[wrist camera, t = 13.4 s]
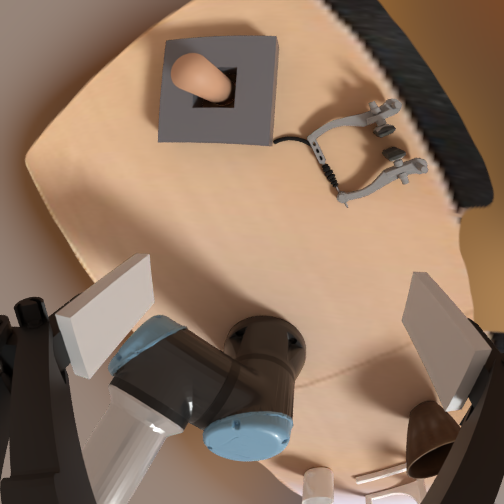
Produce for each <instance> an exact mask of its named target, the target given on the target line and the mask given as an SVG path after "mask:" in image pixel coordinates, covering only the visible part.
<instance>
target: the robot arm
mask: <svg viewBox="0 0 504 504" xmlns="http://www.w3.org/2000/svg"><path fill="white" fill-rule="evenodd" d="M154 303H155V301H154V293H153V284H152V275H151V265H150V254H143V253H136V254H134V255H133V256H132V257H130V258H129V259H127V260H126V261H125V262H123V263H122V264H121V265H119V266H118V267H116V268H115V269H114V270H112V271H111V272H110V273H108V274H107V275H105V276H104V277H103V278H101V279H100V280H99V281H97V282H96V283H95V284H93V285H92V286H91V287H89V288H88V289H87V290H85V291H84V292H83V293H80V294H78V295H76V296H75V297H73V298H72V299H71V300H70V302H67V303H66V304H64V306H62V307H61V308H59V309H58V310H57V311H56V312H54V313H53V314H52V315H50V316H49V317H48V315H47V311H46V308H45V304H44V301H43V299H42V298H40V297H29V298H26V299H23V300H21V301H19V302H18V303H17V304H16V305H15V306H14V310H15V313H16V317H17V319H18V323H19V326H20V327H11V324H10V321H9V318H8V317H7V316H5V315H0V480H1V474H2V468H3V463H4V458H5V454H6V449H7V445H8V441H9V437H10V466H11V476H10V478H3V479H2V480H1V484H0V491H1V501H2V504H128V502H129V500H130V499H131V497H132V495H133V494H134V492H135V490H136V488H137V486H138V485H139V484H140V482H141V480H142V478H143V477H144V475H145V473H146V472H147V470H148V468H149V466H150V465H151V463H152V461H153V460H154V458H155V456H156V455H157V453H158V451H159V449H160V448H161V446H162V444H163V442H164V440H165V439H166V437H168V436H171V435H175V434H179V433H182V432H183V431H184V429H185V427H186V425H187V424H188V422H189V423H190V424H192V425H194V426H196V427H198V428H200V429H202V430H203V431H204V432H203V441H204V444H205V445H206V446H207V447H208V449H209V450H210V451H212V452H213V453H215V454H217V455H219V456H221V457H224V458H227V459H231V460H238V461H259V460H264V459H268V458H271V457H273V456H275V455H277V454H279V453H280V452H282V451H283V450H284V449H285V448H286V446H287V445H288V443H289V439H290V434H291V429H292V427H293V420H292V419H293V402H294V384H295V380H296V379H297V377H298V375H299V373H300V372H301V370H302V368H303V366H304V363H305V359H306V345H305V341H304V339H303V337H302V335H301V334H300V332H299V331H298V330H297V329H296V328H295V327H294V326H293V325H291V324H290V323H288V322H286V321H284V320H282V319H279V318H275V317H270V316H256V317H251V318H247V319H245V320H243V321H241V322H239V323H238V324H236V325H235V326H234V327H233V328H232V329H231V331H230V332H229V334H228V336H227V339H226V342H225V345H224V352H222V351H220V350H219V349H217V348H216V347H214V346H212V345H211V344H209V343H208V342H206V341H205V340H203V339H202V338H200V337H199V336H197V335H196V334H194V333H193V332H191V331H190V330H188V328H187V327H186V326H182V325H180V324H178V323H177V322H175V321H173V320H172V319H170V318H169V317H167V316H164V315H156V316H153V317H151V318H150V319H148V320H147V321H146V322H145V323H143V324H142V325H141V326H140V327H139V328H138V329H137V330H136V331H135V332H134V333H133V334H132V335H131V336H130V337H129V339H128V340H127V341H126V342H125V343H124V344H123V345H122V347H121V348H120V349H119V352H118V353H117V354H116V355H115V356H114V357H113V359H112V360H111V362H110V364H109V366H108V370H109V372H110V374H111V375H112V376H114V378H113V380H112V381H111V383H110V384H109V386H108V388H109V393H110V397H111V404H110V406H109V407H108V408H107V410H106V412H105V413H104V415H103V417H102V418H101V419H100V421H99V423H98V424H97V426H96V428H95V429H94V431H93V432H92V434H91V435H90V437H89V439H88V440H87V442H86V443H85V445H84V447H83V448H82V450H81V447H80V442H79V438H78V433H77V428H76V423H75V418H74V412H73V406H72V400H71V393H70V386H69V378H68V374H67V371H66V367H67V366H68V365H69V363H71V365H72V368H73V371H74V373H75V375H79V376H81V377H84V378H87V379H90V378H91V377H92V376H93V375H94V373H95V372H96V371H97V370H98V368H99V367H100V366H101V365H102V364H103V362H104V361H105V360H106V359H107V358H108V356H109V355H110V354H111V353H112V352H113V350H114V349H115V348H116V347H117V346H118V344H119V343H120V342H121V341H122V340H123V339H124V337H125V336H126V335H127V334H128V333H129V331H130V330H131V329H132V328H133V327H134V326H135V324H136V323H137V322H138V321H139V320H140V319H141V317H142V316H143V315H144V314H145V313H146V312H147V311H148V309H149V308H150V307H151V306H152V305H153V304H154ZM402 322H403V324H404V326H405V328H406V330H407V332H408V334H409V336H410V338H411V340H412V342H413V344H414V346H415V348H416V350H417V352H418V354H419V356H420V358H421V360H422V362H423V364H424V366H425V368H426V370H427V372H428V374H429V376H430V379H431V381H432V383H433V385H434V387H435V390H436V392H437V394H438V396H439V399H440V401H441V403H442V405H443V408H444V410H445V412H447V411H454V410H460V409H462V407H463V406H464V404H465V402H466V400H467V399H468V397H469V399H470V401H471V403H472V405H471V406H470V408H469V410H468V412H467V413H466V415H465V416H464V418H463V420H462V421H461V423H460V424H459V425H461V428H460V431H459V433H458V435H457V437H456V440H455V442H454V444H453V446H452V448H451V450H450V452H449V454H448V456H447V458H446V460H445V462H444V464H443V466H442V468H441V470H440V471H439V473H438V475H437V477H436V479H435V480H434V482H433V484H432V485H431V487H430V489H429V491H428V492H427V494H426V495H425V497H424V499H423V500H422V502H421V503H420V504H494V502H495V499H496V496H497V494H498V491H499V488H500V485H501V482H502V479H503V476H504V353H500V351H499V350H498V349H497V348H496V346H495V345H494V344H493V343H492V341H491V340H490V339H489V338H487V337H488V336H487V335H486V334H485V333H484V332H483V330H482V329H481V328H480V327H479V325H478V324H476V323H475V322H474V321H472V320H471V319H469V318H467V317H466V316H465V315H464V314H463V313H462V312H461V310H460V309H459V308H458V307H457V306H456V305H455V303H454V302H453V301H452V300H451V299H450V298H449V297H448V295H447V294H446V293H445V292H444V291H443V290H442V289H441V288H440V287H439V285H438V284H437V283H436V282H435V281H434V280H433V279H432V278H431V277H430V276H429V275H428V273H427V272H413V275H412V280H411V285H410V289H409V293H408V298H407V302H406V306H405V310H404V314H403V317H402Z"/></svg>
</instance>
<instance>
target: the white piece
mask: <svg viewBox="0 0 504 504" xmlns="http://www.w3.org/2000/svg"><path fill="white" fill-rule="evenodd" d="M404 471H407V470H406V463H404V464H401V465H398V466H395V467H392V468H388V469H385V470H382V471H378V472H374V473H371V474H367V475H363V476H359V477H356V483H357V484H361V483H365V482H369V481H373V480H377V479H381V478H384V477H388V476H391V475H394V474H398V473H401V472H404ZM396 494H401V495H407V496H409V497H411V498H413V499H414V500H415V501H416V502H417V503H418V504H420V503H421V502H422V500H423V499H424V497H425V495H426V494H427V492H426V487H425V482H424V478H423V479H417V481H414V482H411V483H408V484H405V485H402V486H399V487H395V488H392V489H388V490H385V491H381V492H377V493H374V494H369V495H365V498H366V504H372V500H375V499H379V498H383V497H386V496H390V495H396Z"/></svg>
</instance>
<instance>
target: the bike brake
mask: <svg viewBox="0 0 504 504" xmlns="http://www.w3.org/2000/svg"><path fill="white" fill-rule="evenodd" d="M369 106H370V109H371V110H370V111H369V112H365V113H362V114H358V115H354V116H349V117H345V118H341V119H337V120H333V121H331V122H329V123H327V124H325V125H323V126H322V127H320V128H319V129H317V130H316V131H314V132H313V133H312V134H311V135H309V136H308V137H307V140H308V141H307V140H305V139H302V138H299V137H283V138H279V139H276V140H274V141H273V142H274V144H276V143H278V142H281V141H286V140H295V141H300V142H303V143H305V144H307V145H309V146H310V147H312V149H313V151H314V153H315V155H316V157H317V159H318V161H319V163H320V164H322V165H323V166H322V168H323V171H324V172H325V175H326V176H328V177H327V179H328V180H329V179H330V180H329V181H330V182H331V184H332V185H333V187H336V189H337V191H338V194H337V200H338V201H339V202H340V203H344V204H345V205H346V207H347V208H348V205H347V203H346V202H347V201H349V200H353V199H357V198H361V197H365V196H367V195H370V194H371V193H373V192H375V191H376V190H378V189H380V188H382V187H383V186H385V185H387V184H388V183H390V182H392V181H394V180H396V179H398V178H400V179H401V181H402V184H407V183H409V181H408V177H407V176H408V175H409V174H415V173H417V174H422V173H427V172H428V168H427V162H426V161H425V160H424V159H421V158H414V159H412V160H409V161H406V162H403V161H402V159H400V158H402V157H404V156H405V155H406V152H405V151H403V150H401V149H399V148H396V147H391V148H388V149H386V150H383V152H382V154H383V155H384V156H385V157H386V158H387V159H388V160H389V161H394V162H393V163H394V166H393V167H390V168H387V169H385V170H383V171H382V173H381V174H380V175H379V176H378V177H377V178H376V179H375V180H374V181H373V182H372V183H371V184H370V185H368V186H366V187H365V188H363V189H360V190H357V191H353V192H348V193H346V192H343V191H341V192H340V191H339V189H338V187H337V185H338V183H337V180H335V179H336V178H335V174H332V173H333V171H332V170H330V167H329V166H328V164H325V161H326V159H325V157H324V155H323V153H322V151H321V149H320V147H319V145H318V143H317V141H316V138H317V137H319V136H320V135H322V134H323V133H325V132H326V131H328V130H330V129H332V128H335V127H339V126H362V127H364V126H367V125H370V124H373V123H375V122H376V124H377V126H378V127H375V129H374V130H373V133H374V134H375V135H376V136H378V137H384V136H386V135H389V134H391V133H393V132H394V131H395V129H396V128H395V127H394V126H393V125H389V124H386V121H385V118H388V117H390V116H392V115H395V114H396V113H398V112H399V111H400V109H401V107H402V104H401V102H399V101H398V100H397V99H388V100H387V101H386V102H385V103H384V104H383V105H382V106H380V107H378V106H377V104H376V103H375V101H373V102H370V103H369ZM313 142H315V143H316V146H315V145H314V144H313Z"/></svg>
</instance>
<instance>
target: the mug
mask: <svg viewBox="0 0 504 504" xmlns="http://www.w3.org/2000/svg"><path fill="white" fill-rule="evenodd" d="M333 501H334V477H333V471H332V470H331V469H329V468H325V467H316V468H312V469H309V470H307V471H306V472H305V474H304V481H303V496H302V504H332V503H333Z"/></svg>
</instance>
